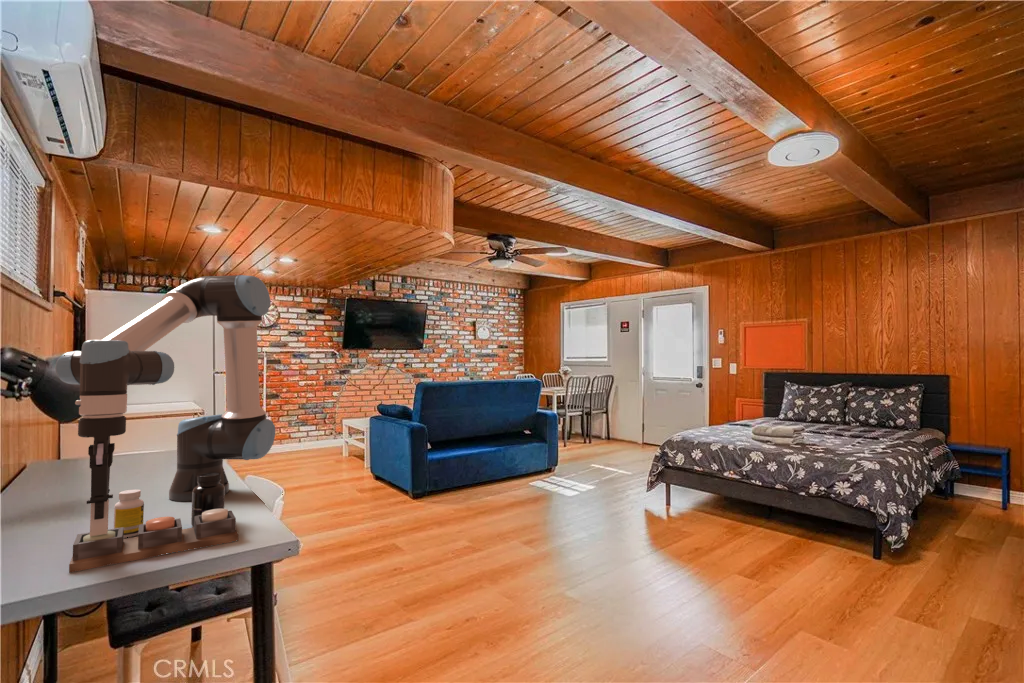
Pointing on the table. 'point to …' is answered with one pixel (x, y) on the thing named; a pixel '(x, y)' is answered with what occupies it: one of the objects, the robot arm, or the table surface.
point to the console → (150, 542)
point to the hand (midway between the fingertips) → (98, 533)
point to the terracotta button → (160, 523)
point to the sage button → (99, 536)
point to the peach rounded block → (214, 515)
